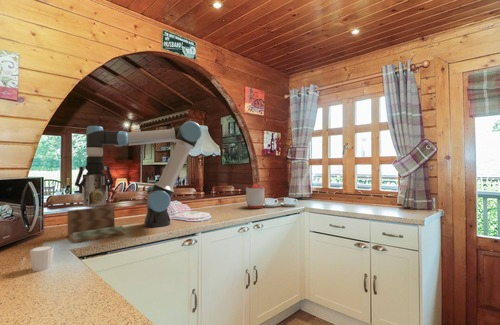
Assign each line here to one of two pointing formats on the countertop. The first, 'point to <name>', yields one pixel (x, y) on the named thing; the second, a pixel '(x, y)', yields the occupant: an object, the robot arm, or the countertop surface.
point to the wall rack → (92, 224)
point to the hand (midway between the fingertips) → (94, 199)
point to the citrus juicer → (255, 196)
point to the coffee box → (94, 190)
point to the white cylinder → (41, 258)
